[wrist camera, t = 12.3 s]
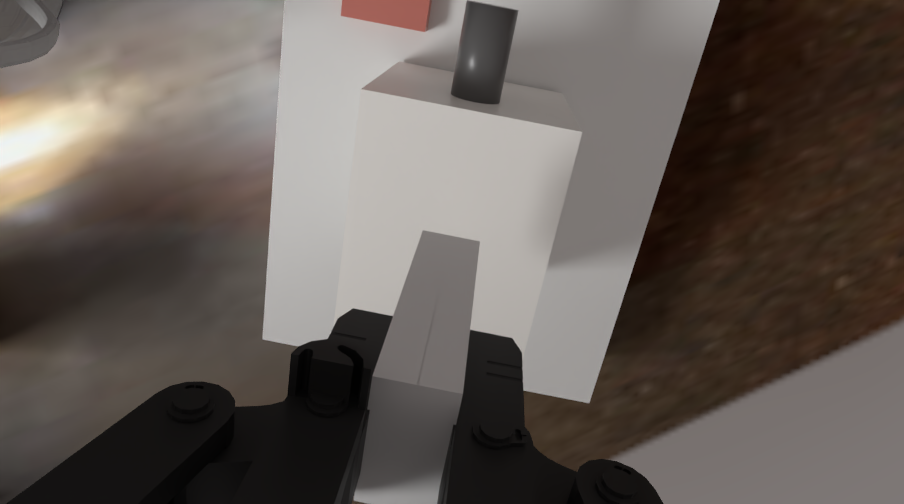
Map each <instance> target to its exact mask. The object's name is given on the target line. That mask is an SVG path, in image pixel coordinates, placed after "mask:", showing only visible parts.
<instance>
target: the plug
mask: <svg viewBox="0 0 904 504" xmlns="http://www.w3.org/2000/svg"><path fill="white" fill-rule="evenodd" d="M518 11H519V10H516V9H512V8H507V7H502V6H497V5H492V4H487V3H482V2H476V1H469V0H467V2H466V7H465V13H464V19H463V25H462V30H461V36H460V42H459V48H458V54H457V59H456V65H455V71H454V72H451V71H446V70H441V69H436V68H430V67H425V66H420V65H415V64H410V63H405V62H400V61H399V62H397V63H396V64H395V65H393V66H392V67H390V68H389V69H388V70H386V71H385V72H384V73H382V74H381V75H380V76H378V77H377V78H375V79H374V80H373V81H371V82H370V83H369V84H367V85H366V86H365V87H363V88H362V89H361V95H360V103H359V112H358V120H357V129H356V137H355V146H354V154H353V163H352V171H351V180H350V189H349V197H348V206H347V214H346V223H345V231H344V240H343V248H342V257H341V265H340V274H339V282H338V291H337V300H336V308H335V317H334V325H335V323H336V321H337V319H338V318H339V317H341V316H342V315H344V314H345V313H347V312H348V311H350V310H351V309H353V308H354V309H359V310H364V311H369V312H375V313H380V314H385V315H390V316H393V315H394V312H395V309H396V306H397V303H398V301H399V298H400V295H401V292H402V289H403V286H404V283H405V280H406V277H407V275H408V272H409V269H410V266H411V263H412V260H413V257H414V254H415V251H416V249H417V246H418V243H419V240H420V237H421V234H422V231H423V230H425V231H430V232H435V233H440V234H445V235H450V236H455V237H461V238H466V239H471V240H476V241H480V246H479V255H478V263H477V272H476V281H475V290H474V299H473V308H472V317H471V326H470V330H474V331H479V332H484V333H490V334H495V335H500V336H505V337H510V338H513V340H514V341H515V343H516V344H517V346H518V347H519V349H520V350H521V352H522V360H523V356H524V352H525V348H526V345H527V341H528V337H529V333H530V329H531V326H532V322H533V318H534V314H535V310H536V307H537V303H538V299H539V295H540V291H541V288H542V284H543V280H544V276H545V272H546V269H547V265H548V261H549V257H550V253H551V250H552V246H553V242H554V238H555V234H556V231H557V227H558V223H559V219H560V215H561V212H562V208H563V204H564V200H565V196H566V193H567V189H568V185H569V181H570V177H571V174H572V170H573V166H574V162H575V158H576V155H577V151H578V147H579V143H580V139H581V136H582V130H581V128H580V126H579V124H578V122H577V120H576V119H575V117H574V115H573V113H572V111H571V109H570V107H569V105H568V103H567V101H566V99H565V97H564V95H563V93H559V92H554V91H549V90H544V89H538V88H533V87H528V86H523V85H518V84H513V83H508V82H504V79H505V74H506V69H507V65H508V60H509V55H510V50H511V45H512V40H513V35H514V31H515V26H516V21H517V16H518ZM334 325H333V326H334Z"/></svg>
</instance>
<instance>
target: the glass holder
mask: <svg viewBox="0 0 904 504" xmlns="http://www.w3.org/2000/svg"><path fill="white" fill-rule="evenodd" d="M62 2H63V0H0V68H3V67H8V66H12V65H17V64H21V63H26V62H30V61H32V60H34V59H37V58H39V57H41V56H43V55H45V54H47V53H48V52H49V51H50V50H51V49H52V47H53V46H54V45H55V43H56V41H57V38H58V35H59V26H60V24H59V22H58V20H57V17H58V15H59V12H60V9H61V7H62Z"/></svg>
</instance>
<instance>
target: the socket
mask: <svg viewBox="0 0 904 504" xmlns="http://www.w3.org/2000/svg"><path fill="white" fill-rule="evenodd" d="M469 1H476V2H482V3H487V4H492V5H497V6H502V7H507V8H512V9H516V10H519V11H518V16H517V21H516V26H515V31H514V35H513V40H512V45H511V50H510V55H509V60H508V65H507V69H506V74H505V79H504V82H508V83H513V84H518V85H523V86H528V87H533V88H538V89H544V90H549V91H554V92H559V93H563V95H564V97H565V99H566V101H567V103H568V105H569V107H570V109H571V111H572V113H573V115H574V117H575V119H576V120H577V122H578V124H579V126H580V128H581V130H582V136H581V139H580V143H579V147H578V151H577V155H576V158H575V162H574V166H573V170H572V174H571V177H570V181H569V185H568V189H567V193H566V196H565V200H564V204H563V208H562V212H561V215H560V219H559V223H558V227H557V231H556V234H555V238H554V242H553V246H552V250H551V253H550V257H549V261H548V265H547V269H546V272H545V276H544V280H543V284H542V288H541V291H540V295H539V299H538V303H537V307H536V310H535V314H534V318H533V322H532V326H531V329H530V333H529V337H528V341H527V345H526V348H525V352H524V356H523V360H522V370H523V390H524V391H529V392H534V393H539V394H544V395H549V396H555V397H560V398H565V399H570V400H575V401H580V402H585V403H589V402H590V399H591V396H592V393H593V390H594V387H595V384H596V381H597V378H598V375H599V371H600V368H601V365H602V362H603V359H604V356H605V353H606V350H607V347H608V344H609V341H610V338H611V334H612V331H613V328H614V325H615V322H616V319H617V316H618V313H619V310H620V307H621V304H622V300H623V297H624V294H625V291H626V288H627V285H628V282H629V279H630V276H631V273H632V270H633V267H634V263H635V260H636V257H637V254H638V251H639V248H640V245H641V242H642V239H643V236H644V233H645V229H646V226H647V223H648V220H649V217H650V214H651V211H652V208H653V205H654V202H655V199H656V196H657V192H658V189H659V186H660V183H661V180H662V177H663V174H664V171H665V168H666V165H667V162H668V159H669V155H670V152H671V149H672V146H673V143H674V140H675V137H676V134H677V131H678V128H679V125H680V121H681V118H682V115H683V112H684V109H685V106H686V103H687V100H688V97H689V94H690V91H691V88H692V84H693V81H694V78H695V75H696V72H697V69H698V66H699V63H700V60H701V57H702V54H703V51H704V47H705V44H706V41H707V38H708V35H709V32H710V29H711V26H712V23H713V20H714V17H715V13H716V10H717V7H718V4H719V1H720V0H469ZM466 2H467V0H285V2H284V18H283V33H282V48H281V64H280V79H279V94H278V109H277V125H276V140H275V155H274V171H273V186H272V201H271V217H270V232H269V247H268V262H267V278H266V293H265V308H264V324H263V340H268V341H273V342H279V343H284V344H289V345H294V346H301V345H303V344H306V343H308V342H310V341H316V340H324V339H328V337H329V335H330V334H331V331H332V329H333V327H334V326H333V325H334V317H335V308H336V300H337V291H338V282H339V274H340V265H341V257H342V248H343V240H344V231H345V223H346V214H347V206H348V197H349V189H350V180H351V171H352V163H353V154H354V146H355V137H356V129H357V120H358V112H359V103H360V95H361V89H362V88H363V87H365V86H366V85H367V84H369V83H370V82H371V81H373V80H374V79H375V78H377V77H378V76H380V75H381V74H382V73H384V72H385V71H386V70H388V69H389V68H390V67H392V66H393V65H395V64H396V63H397V62H399V61H400V62H405V63H410V64H415V65H420V66H425V67H430V68H436V69H441V70H446V71H451V72H454V71H455V65H456V59H457V54H458V48H459V42H460V36H461V30H462V25H463V19H464V13H465V7H466Z"/></svg>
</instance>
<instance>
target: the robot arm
mask: <svg viewBox="0 0 904 504" xmlns="http://www.w3.org/2000/svg"><path fill="white" fill-rule="evenodd" d="M479 246H480V241H476V240H471V239H466V238H461V237H455V236H450V235H445V234H440V233H435V232H430V231H425V230H423V231H422V234H421V237H420V240H419V243H418V246H417V249H416V251H415V254H414V257H413V260H412V263H411V266H410V269H409V272H408V275H407V277H406V280H405V283H404V286H403V289H402V292H401V295H400V298H399V301H398V303H397V306H396V309H395V312H394V315H393V316H390V315H385V314H380V313H375V312H369V311H364V310H359V309H354V308H353V309H351V310H350V311H348V312H347V313H345V314H344V315H342V316H341V317H339V318H338V319H337V321H336V323H335V325H334V327H333V329H332V331H331V334H330V335H329V337H328V339H324V340H316V341H310V342H308V343H306V344H303V345H301V346H299V347H298V348H297V349H296V350H295V351H294V352H293V353H292V354H291V362H290V374H289V385H288V395H287V397H286V399H285V401H283V402H279V403H275V404H272V405H264V406H246V407H235V400H234V398H233V397H232V395H231V393H230V392H229V391H227V390H226V389H224V388H222V387H221V386H219V385H216V384H211V383H207V382H185V383H180V384H176V385H172V386H169V387H167V388H165V389H164V390H162V391H160V392H158V393H156V394H155V395H153V396H152V397H151V398H149V399H148V400H147V401H145V402H144V403H142V404H141V405H140V406H138V407H137V408H136V409H134V410H133V411H132V412H130V413H129V414H128V415H126V416H125V417H123V418H122V419H121V420H119V421H118V422H117V423H115V424H114V425H113V426H111V427H110V428H109V429H107V430H106V431H104V432H103V433H102V434H100V435H99V436H98V437H96V438H95V439H94V440H92V441H91V442H90V443H88V444H87V445H85V446H84V447H83V448H81V449H80V450H79V451H77V452H76V453H75V454H73V455H72V456H70V457H69V458H68V459H66V460H65V461H64V462H62V463H61V464H60V465H58V466H57V467H56V468H54V469H53V470H51V471H50V472H49V473H47V474H46V475H45V476H43V477H42V478H41V479H39V480H38V481H37V482H35V483H34V484H32V485H31V486H30V487H28V488H27V489H26V490H24V491H23V492H22V493H20V494H19V495H18V496H16V497H15V498H13V499H12V500H11V501H9V502H8V503H7V504H351V503H352V499H353V496H354V501H358V502H363V503H368V504H663V502H662V500H661V499H660V497H659V495H658V494H657V492H656V490H655V489H654V488H653V486H652V485H651V484H650V483H649V481H648V480H647V479H646V478H645V477H644V476H642V475H641V474H640V473H638V472H637V471H636V470H634V469H633V468H631V467H629V466H626V465H624V464H622V463H619V462H617V461H611V460H605V459H598V460H591V461H588V462H586V463H585V464H583V465H582V466H580V467H579V469H578V472H576V471H573V470H571V469H569V468H567V467H564V466H562V465H560V464H558V463H556V462H554V461H552V460H550V459H549V458H547V457H546V456H544V455H543V454H542V453H540V452H539V451H538V450H537V449H536V448H535V447H534V446H533V441H532V438H531V435H530V432H529V431H528V430H527V429H526V428H525V424H524V395H523V370H522V352H521V350H520V349H519V347H518V346H517V344H516V343H515V341H514V340H513V338H510V337H505V336H500V335H495V334H490V333H484V332H479V331H474V330H470V326H471V317H472V308H473V299H474V290H475V281H476V272H477V263H478V255H479ZM354 493H355V495H354Z"/></svg>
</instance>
